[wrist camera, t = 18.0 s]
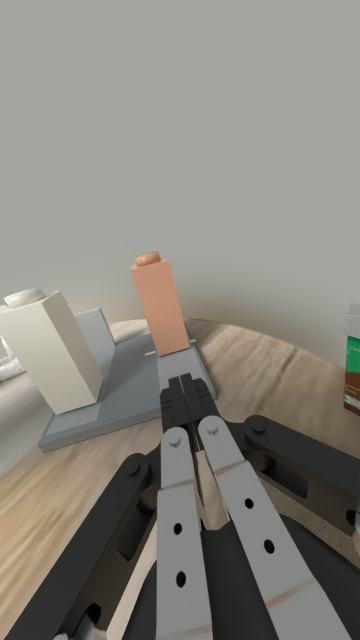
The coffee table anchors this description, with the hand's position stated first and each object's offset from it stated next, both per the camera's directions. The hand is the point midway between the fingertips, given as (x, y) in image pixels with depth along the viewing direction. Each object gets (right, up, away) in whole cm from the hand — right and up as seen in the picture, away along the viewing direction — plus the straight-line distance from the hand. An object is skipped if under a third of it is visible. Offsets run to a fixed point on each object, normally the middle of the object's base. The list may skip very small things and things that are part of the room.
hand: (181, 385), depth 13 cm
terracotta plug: (-1, 0, +17) cm, 17 cm away
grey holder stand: (-6, -3, +15) cm, 17 cm away
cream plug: (-12, -5, +11) cm, 17 cm away
